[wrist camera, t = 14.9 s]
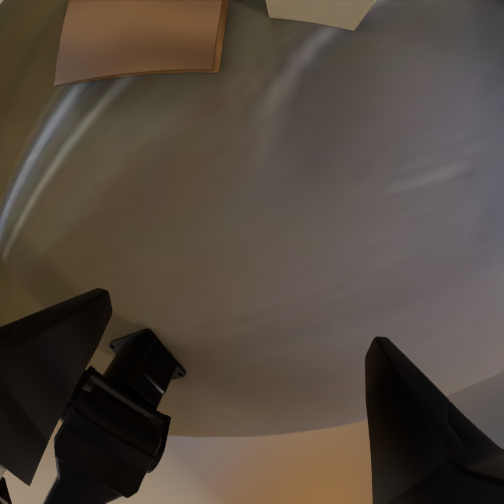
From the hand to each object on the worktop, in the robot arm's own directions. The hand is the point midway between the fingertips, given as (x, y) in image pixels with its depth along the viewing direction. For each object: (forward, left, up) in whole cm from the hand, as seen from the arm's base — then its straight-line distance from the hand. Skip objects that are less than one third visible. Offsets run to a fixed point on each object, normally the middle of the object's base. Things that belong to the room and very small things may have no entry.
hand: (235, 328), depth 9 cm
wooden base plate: (+1, +19, -12) cm, 22 cm away
